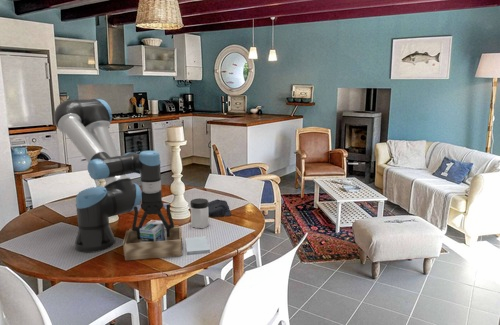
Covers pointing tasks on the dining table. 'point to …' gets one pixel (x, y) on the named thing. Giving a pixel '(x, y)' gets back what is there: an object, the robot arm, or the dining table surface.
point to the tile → (197, 245)
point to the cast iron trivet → (218, 208)
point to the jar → (199, 213)
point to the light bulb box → (152, 231)
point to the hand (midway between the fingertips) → (154, 245)
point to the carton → (152, 246)
